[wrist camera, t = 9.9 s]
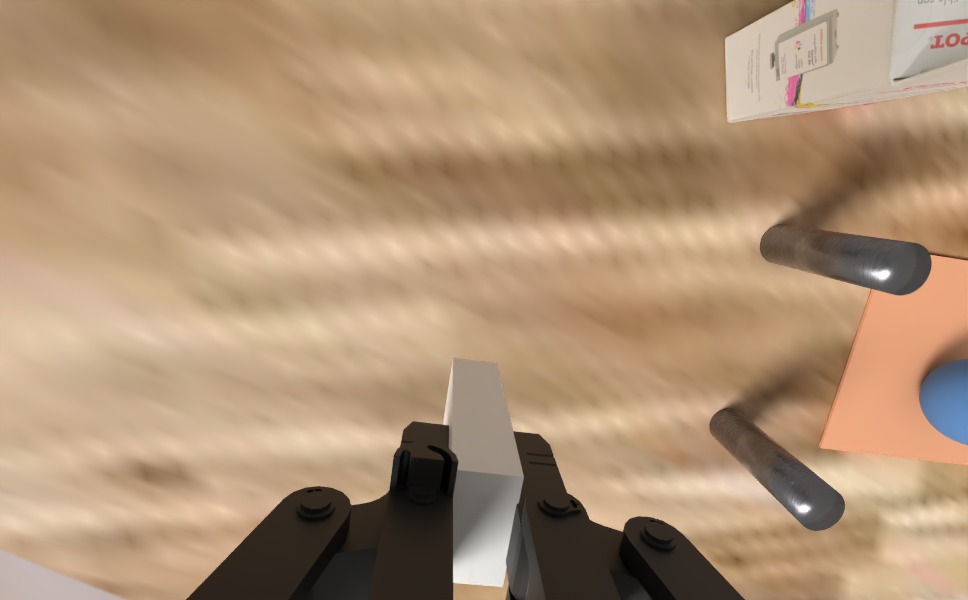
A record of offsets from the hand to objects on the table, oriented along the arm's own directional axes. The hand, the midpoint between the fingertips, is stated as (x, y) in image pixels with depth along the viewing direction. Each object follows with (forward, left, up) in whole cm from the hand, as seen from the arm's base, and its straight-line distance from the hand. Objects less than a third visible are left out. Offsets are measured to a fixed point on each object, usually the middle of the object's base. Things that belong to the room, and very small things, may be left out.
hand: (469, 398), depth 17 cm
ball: (+2, +33, -12) cm, 35 cm away
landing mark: (0, +33, -14) cm, 36 cm away
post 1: (+6, +19, -14) cm, 25 cm away
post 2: (-6, +19, -14) cm, 25 cm away
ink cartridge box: (-16, +17, -15) cm, 28 cm away
